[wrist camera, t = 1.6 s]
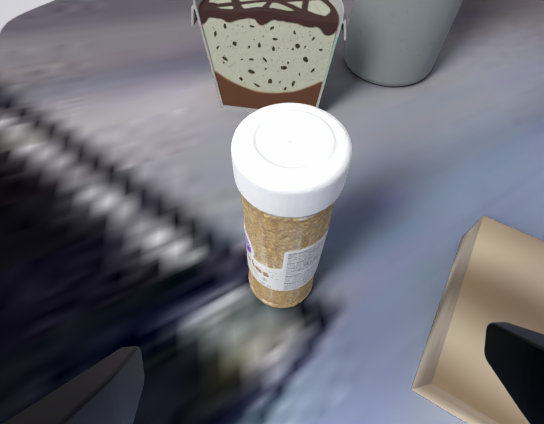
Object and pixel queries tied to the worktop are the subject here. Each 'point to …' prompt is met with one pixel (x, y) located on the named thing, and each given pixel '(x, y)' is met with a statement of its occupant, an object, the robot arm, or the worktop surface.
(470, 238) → the oak stand
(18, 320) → the worktop surface
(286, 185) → the sprinkles bottle
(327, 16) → the food container
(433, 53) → the water bottle
